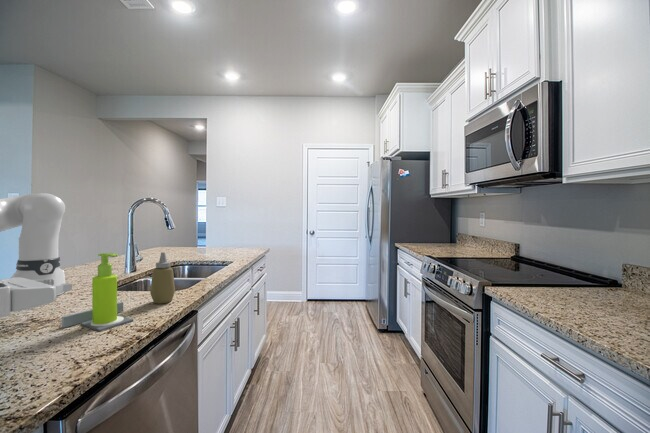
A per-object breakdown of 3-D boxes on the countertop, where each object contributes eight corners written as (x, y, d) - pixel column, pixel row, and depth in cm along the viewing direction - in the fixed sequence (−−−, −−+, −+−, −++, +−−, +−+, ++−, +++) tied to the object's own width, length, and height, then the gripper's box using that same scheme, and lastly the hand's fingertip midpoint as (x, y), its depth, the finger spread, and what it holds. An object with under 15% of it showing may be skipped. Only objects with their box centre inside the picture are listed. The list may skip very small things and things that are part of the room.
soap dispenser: (107, 325, 86) (107, 255, 85) (87, 323, 87) (86, 254, 87) (124, 318, 92) (124, 252, 91) (105, 316, 93) (105, 251, 93)
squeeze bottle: (176, 297, 116) (176, 250, 115) (174, 303, 108) (174, 253, 108) (152, 299, 113) (152, 251, 112) (148, 306, 105) (148, 254, 105)
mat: (80, 324, 88) (80, 322, 88) (114, 315, 96) (114, 313, 96) (99, 331, 83) (99, 329, 83) (133, 321, 91) (133, 319, 91)
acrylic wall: (61, 327, 86) (61, 316, 86) (121, 310, 100) (121, 301, 100) (63, 327, 85) (63, 317, 85) (123, 311, 99) (123, 302, 99)
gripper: (-33, 304, 72) (42, 290, 84) (2, 319, 62) (81, 302, 75) (-33, 277, 72) (42, 268, 84) (2, 289, 62) (81, 276, 75)
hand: (61, 284), depth 79 cm, fingers open, 8 cm apart
